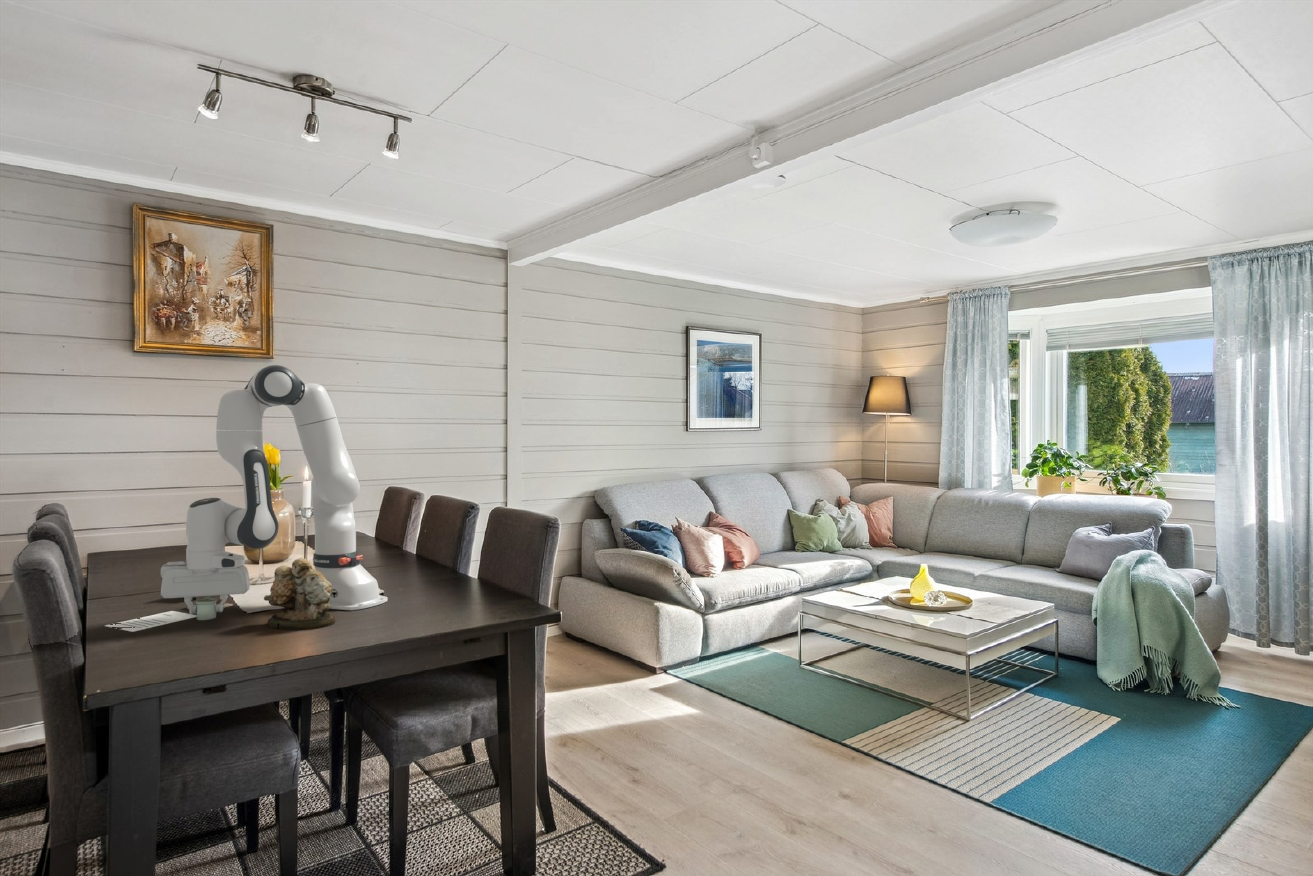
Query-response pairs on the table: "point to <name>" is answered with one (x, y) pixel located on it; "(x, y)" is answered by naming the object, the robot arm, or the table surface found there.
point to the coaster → (223, 605)
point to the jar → (206, 609)
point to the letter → (153, 620)
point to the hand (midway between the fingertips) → (206, 612)
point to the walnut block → (210, 597)
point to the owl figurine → (300, 597)
